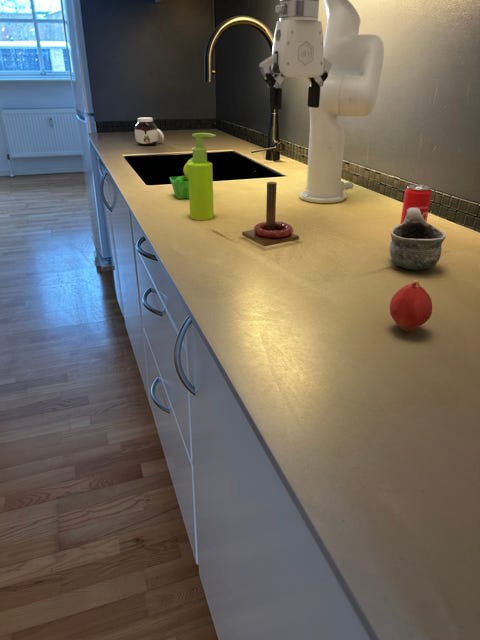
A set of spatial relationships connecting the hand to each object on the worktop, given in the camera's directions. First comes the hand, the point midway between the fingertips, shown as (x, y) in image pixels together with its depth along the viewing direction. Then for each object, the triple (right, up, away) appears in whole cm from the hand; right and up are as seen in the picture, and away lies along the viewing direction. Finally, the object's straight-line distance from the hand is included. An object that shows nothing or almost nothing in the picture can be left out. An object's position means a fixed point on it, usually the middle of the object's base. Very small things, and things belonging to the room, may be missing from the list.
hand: (294, 108), depth 107 cm
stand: (-5, -27, +5) cm, 28 cm away
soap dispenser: (-21, -19, +22) cm, 35 cm away
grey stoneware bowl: (+21, -34, -8) cm, 41 cm away
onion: (+13, -46, -32) cm, 57 cm away
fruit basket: (-25, -9, +41) cm, 49 cm away
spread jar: (-53, +38, +132) cm, 147 cm away
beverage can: (+25, -28, +4) cm, 38 cm away
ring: (-4, -25, +5) cm, 25 cm away
